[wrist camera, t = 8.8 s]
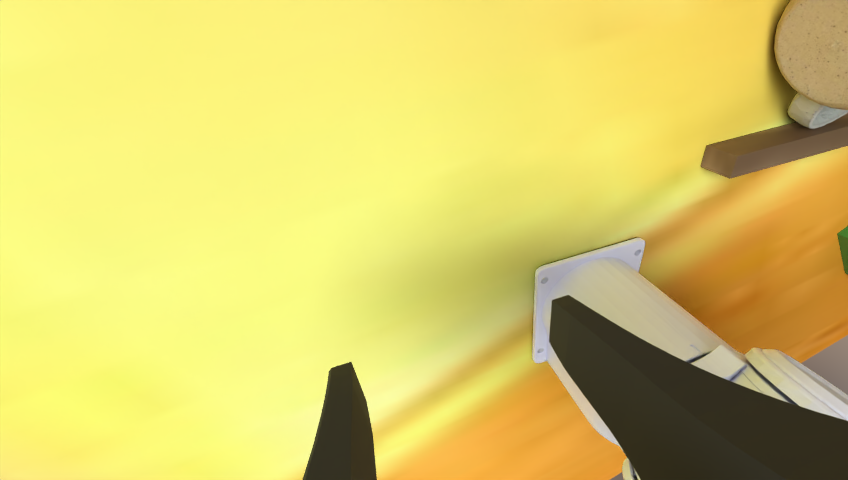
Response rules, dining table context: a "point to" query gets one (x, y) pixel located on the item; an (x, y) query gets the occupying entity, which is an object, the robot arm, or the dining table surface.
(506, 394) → the dining table surface
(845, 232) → the hardback book
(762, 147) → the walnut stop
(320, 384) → the dining table surface
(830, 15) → the ceramic mug
